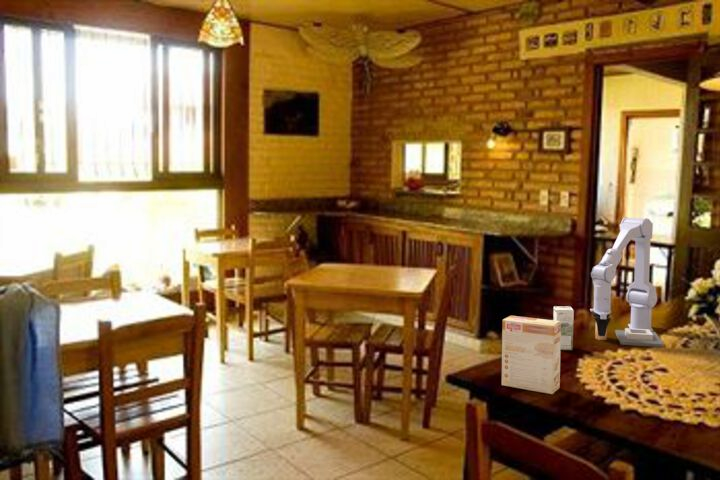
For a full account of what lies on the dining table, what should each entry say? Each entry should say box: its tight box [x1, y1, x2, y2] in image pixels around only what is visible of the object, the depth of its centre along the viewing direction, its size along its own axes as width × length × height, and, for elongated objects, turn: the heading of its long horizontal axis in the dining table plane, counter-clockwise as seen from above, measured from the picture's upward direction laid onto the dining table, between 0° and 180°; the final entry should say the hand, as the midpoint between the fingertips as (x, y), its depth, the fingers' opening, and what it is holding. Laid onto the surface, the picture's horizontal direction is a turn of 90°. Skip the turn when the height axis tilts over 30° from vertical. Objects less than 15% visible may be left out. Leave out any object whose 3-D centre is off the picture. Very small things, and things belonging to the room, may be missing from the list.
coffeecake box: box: [501, 315, 561, 395], centre depth 182 cm, size 15×7×20 cm, turn 56°
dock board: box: [614, 327, 665, 348], centre depth 233 cm, size 18×14×3 cm
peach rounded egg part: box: [594, 322, 608, 341], centre depth 235 cm, size 4×4×6 cm
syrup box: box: [552, 305, 575, 351], centre depth 222 cm, size 6×6×14 cm
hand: (601, 334), depth 235 cm, fingers closed on peach rounded egg part, 4 cm apart
